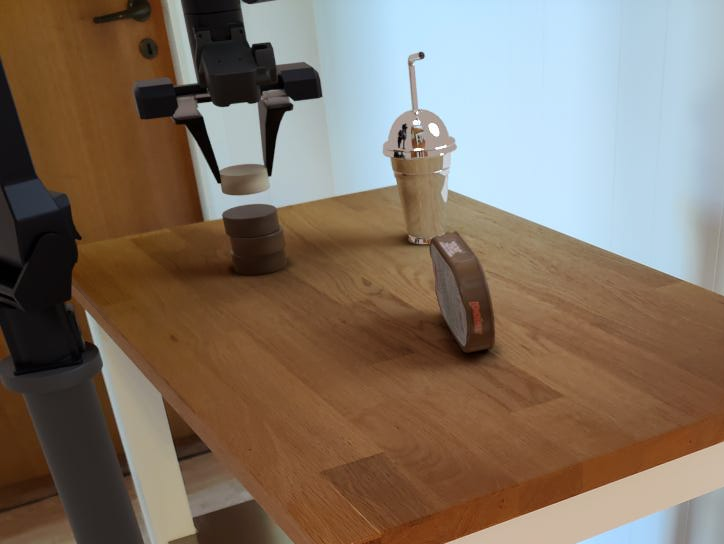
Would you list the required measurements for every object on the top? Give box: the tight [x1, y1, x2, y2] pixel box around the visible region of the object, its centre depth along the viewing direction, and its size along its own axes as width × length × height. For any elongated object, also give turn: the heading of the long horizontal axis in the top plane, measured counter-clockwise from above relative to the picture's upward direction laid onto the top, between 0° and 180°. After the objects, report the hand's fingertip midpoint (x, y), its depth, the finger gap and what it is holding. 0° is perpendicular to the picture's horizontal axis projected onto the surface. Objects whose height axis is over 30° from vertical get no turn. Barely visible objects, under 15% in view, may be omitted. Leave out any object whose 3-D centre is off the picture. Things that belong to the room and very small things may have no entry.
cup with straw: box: [381, 51, 458, 245], centre depth 112 cm, size 8×9×20 cm
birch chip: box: [219, 163, 271, 196], centre depth 108 cm, size 5×5×2 cm
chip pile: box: [221, 203, 288, 276], centre depth 112 cm, size 6×6×6 cm
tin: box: [429, 230, 496, 354], centre depth 91 cm, size 15×3×8 cm, turn 14°
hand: (244, 179), depth 108 cm, fingers closed on birch chip, 5 cm apart
